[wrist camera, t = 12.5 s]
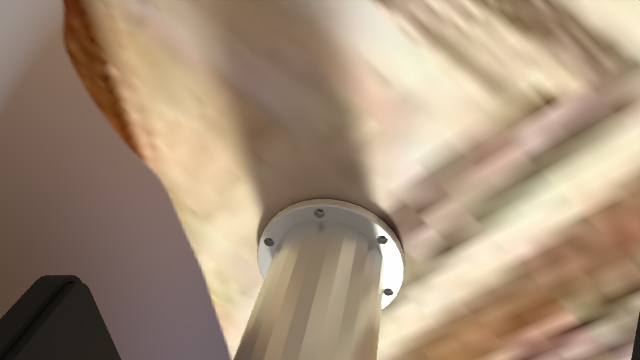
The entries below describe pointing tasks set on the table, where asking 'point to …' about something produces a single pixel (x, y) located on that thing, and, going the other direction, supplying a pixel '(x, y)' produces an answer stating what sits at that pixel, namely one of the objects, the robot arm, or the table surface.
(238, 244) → the table surface
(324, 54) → the table surface
